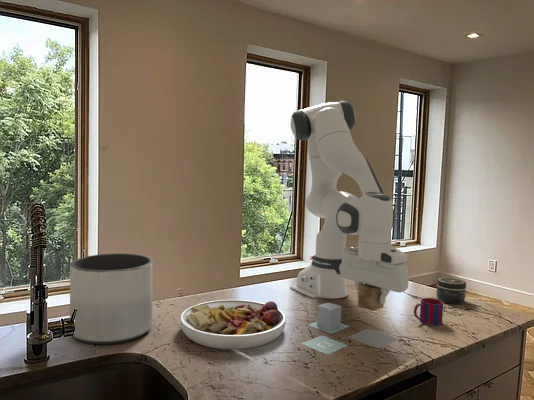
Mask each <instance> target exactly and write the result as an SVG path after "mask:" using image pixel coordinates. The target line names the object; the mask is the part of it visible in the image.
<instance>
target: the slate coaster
mask: <svg viewBox="0 0 534 400" xmlns="http://www.w3.org/2000/svg"><path fill="white" fill-rule="evenodd" d="M347 339H351V340H354V341H357V342H360V343H361V344H365V345H367V346H370V347H372V348H376V349H378V350H379V349H380V348H382V347H384V346H387V345H390V344H391V343H392V342H395V341H398V338H396V337H393V336H390V335H387V334H384V333H381V332H379V331H375V330H372V329H369V328H366V329H364V330H361V331H359V332H356V333H354V334H351V335H349V336H348V337H347Z"/></svg>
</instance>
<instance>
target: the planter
mask: <svg viewBox="0 0 534 400" xmlns="http://www.w3.org/2000/svg"><path fill="white" fill-rule="evenodd" d="M153 299H154V298H153V259H152V258H150V257H149V256H146V255H143V254H142V255H141V254H135V253H102V254H94V255H87V256H82V257H79V258H77V259H74V260H72V261H71V262H70V263H69V318H70V317H71V316H72V314H73V312H74V309H76V308H77V314H76V316H75V333H74V335H73V336H72V337H74V338H75V339H77V340H79V341H80V342H83V343H85V344H86V343H88V344H93V345H112V344H113V345H114V344H120V343H125V342H130V341H133V340H134V339H137V338H140V337H142V336H143V335H144V334H146V333H147V332H149V331H150V330H151V328H152V326H153V319H154V318H153V317H154V315H153V314H154V313H153V310H154V309H153V305H154V304H153V301H154V300H153Z"/></svg>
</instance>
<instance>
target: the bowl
mask: <svg viewBox="0 0 534 400" xmlns="http://www.w3.org/2000/svg"><path fill="white" fill-rule="evenodd" d="M179 321H180V324H179V325H180V327H181V328H180V329H181V331H182V332H183V333H184V335H185V336H186V337H187V338H189V339H190V340H191V341H193V342H195V343H196V344H199V345H201V346H204V347H208V348H211V349H219V350H232V351H233V350H240V349H241V350H242V349H243V350H245V349H251V348H256V347H261V346H263V345H266V344H267V345H268V344H269V343H272V342H273V341H275V340H276V339H278V337H280V335H281V334H282V333H283V331H284V329H285V327H286V315H285V313H284V312H283V311H282V310H280V309H279V308H278V304H277V303H276V302H275V301H270V300H269V301H267V302H265V303H264V302H259V301H253V300H247V299H244V300H243V299H218V300H211V301H205V302H201V303H197V304H194V305H192V306H190V307H188V308H186V309H185V310H184V311H183V312H182V313H181V314H180V318H179Z"/></svg>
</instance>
